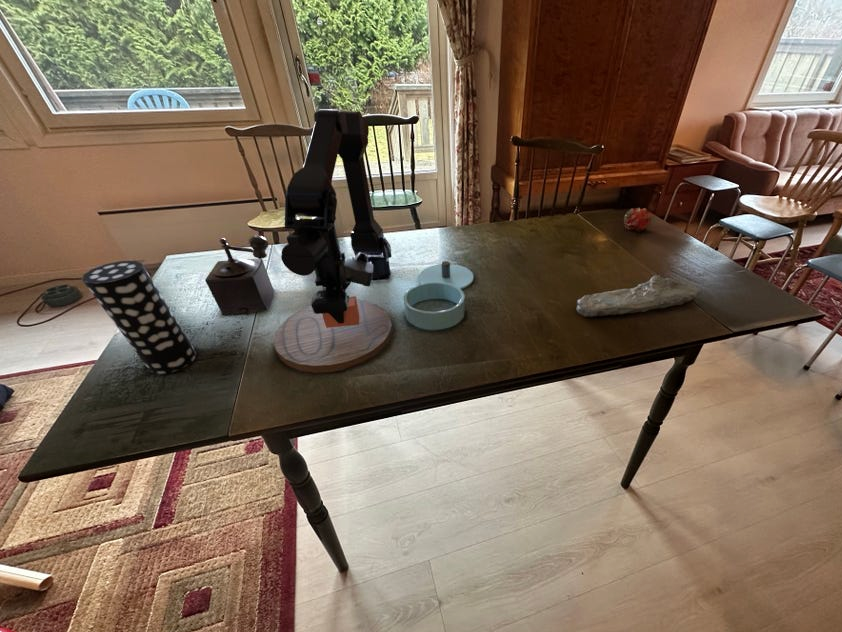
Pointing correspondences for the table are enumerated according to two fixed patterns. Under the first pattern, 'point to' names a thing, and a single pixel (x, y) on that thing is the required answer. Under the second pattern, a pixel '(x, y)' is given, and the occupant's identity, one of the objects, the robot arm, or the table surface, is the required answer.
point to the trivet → (331, 339)
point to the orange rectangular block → (349, 315)
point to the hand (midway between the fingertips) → (342, 317)
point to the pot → (440, 317)
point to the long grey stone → (638, 298)
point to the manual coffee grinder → (241, 280)
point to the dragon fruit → (637, 219)
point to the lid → (447, 274)
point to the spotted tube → (141, 315)
